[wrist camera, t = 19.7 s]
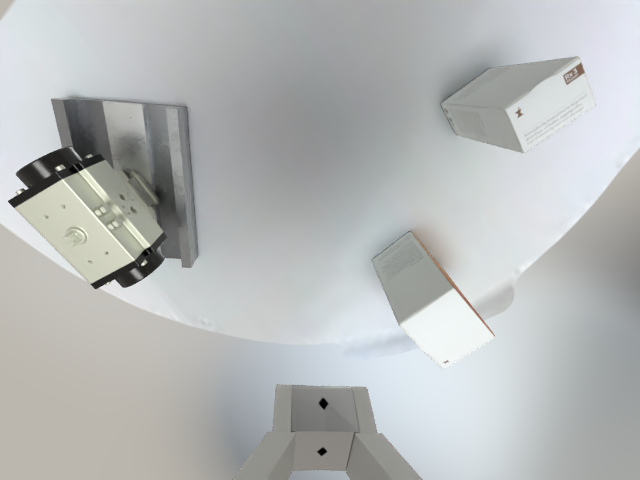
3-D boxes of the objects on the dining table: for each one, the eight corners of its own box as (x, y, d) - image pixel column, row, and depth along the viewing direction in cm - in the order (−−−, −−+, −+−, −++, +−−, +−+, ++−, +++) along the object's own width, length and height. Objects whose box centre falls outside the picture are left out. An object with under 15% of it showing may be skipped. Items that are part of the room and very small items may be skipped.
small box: (444, 269, 44) (498, 338, 33) (405, 297, 46) (442, 372, 34) (410, 228, 41) (455, 287, 30) (369, 259, 43) (397, 326, 31)
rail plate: (71, 97, 33) (50, 98, 30) (186, 106, 34) (177, 109, 31) (103, 251, 40) (89, 263, 38) (198, 255, 41) (191, 267, 39)
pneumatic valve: (155, 245, 39) (100, 310, 28) (78, 154, 34) (-24, 189, 23) (195, 224, 38) (155, 281, 27) (123, 127, 33) (38, 150, 22)
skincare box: (456, 136, 37) (522, 160, 26) (437, 101, 35) (500, 111, 24) (507, 100, 36) (600, 110, 25) (490, 62, 34) (582, 54, 23)
